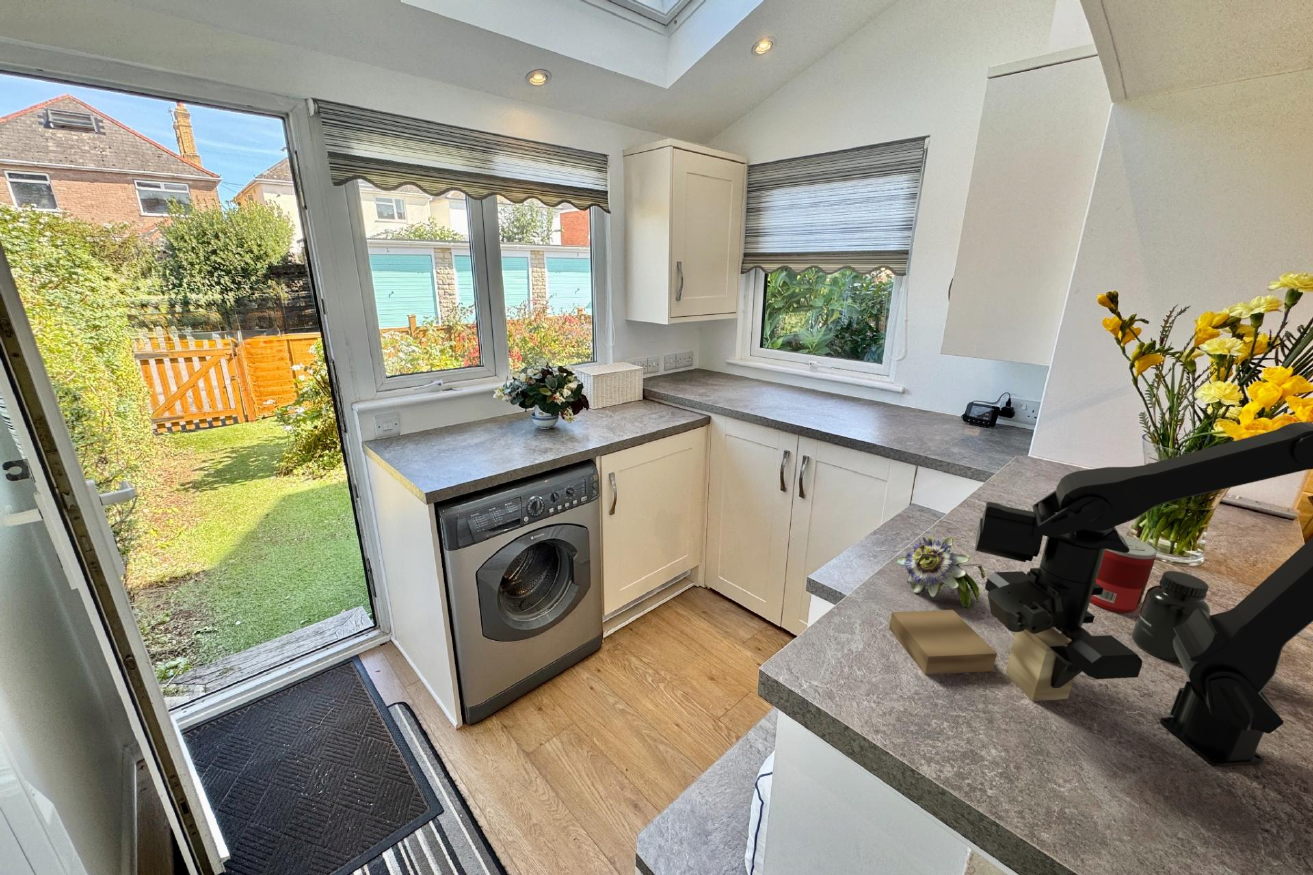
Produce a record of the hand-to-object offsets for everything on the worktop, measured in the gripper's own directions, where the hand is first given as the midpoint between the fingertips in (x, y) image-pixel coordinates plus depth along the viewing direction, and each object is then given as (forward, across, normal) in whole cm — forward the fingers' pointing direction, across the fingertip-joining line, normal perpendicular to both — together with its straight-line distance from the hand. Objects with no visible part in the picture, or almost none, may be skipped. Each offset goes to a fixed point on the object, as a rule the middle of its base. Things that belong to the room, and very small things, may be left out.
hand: (1039, 672), depth 71 cm
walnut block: (+2, -8, -9) cm, 12 cm away
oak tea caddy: (+2, 0, 0) cm, 2 cm away
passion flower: (+2, -23, 0) cm, 23 cm away
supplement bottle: (+2, -6, +25) cm, 26 cm away
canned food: (+2, -18, +28) cm, 33 cm away
